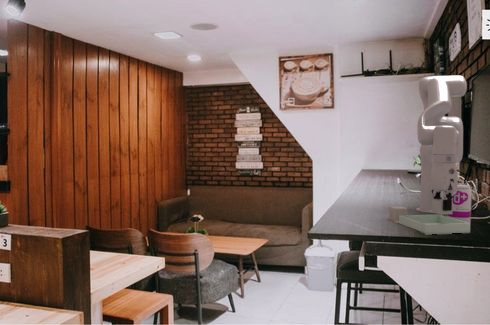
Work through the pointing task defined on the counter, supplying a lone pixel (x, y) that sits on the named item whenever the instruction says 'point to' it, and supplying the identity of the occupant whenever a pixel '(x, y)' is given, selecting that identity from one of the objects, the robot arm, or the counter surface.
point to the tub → (434, 224)
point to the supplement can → (462, 204)
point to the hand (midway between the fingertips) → (442, 208)
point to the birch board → (391, 220)
